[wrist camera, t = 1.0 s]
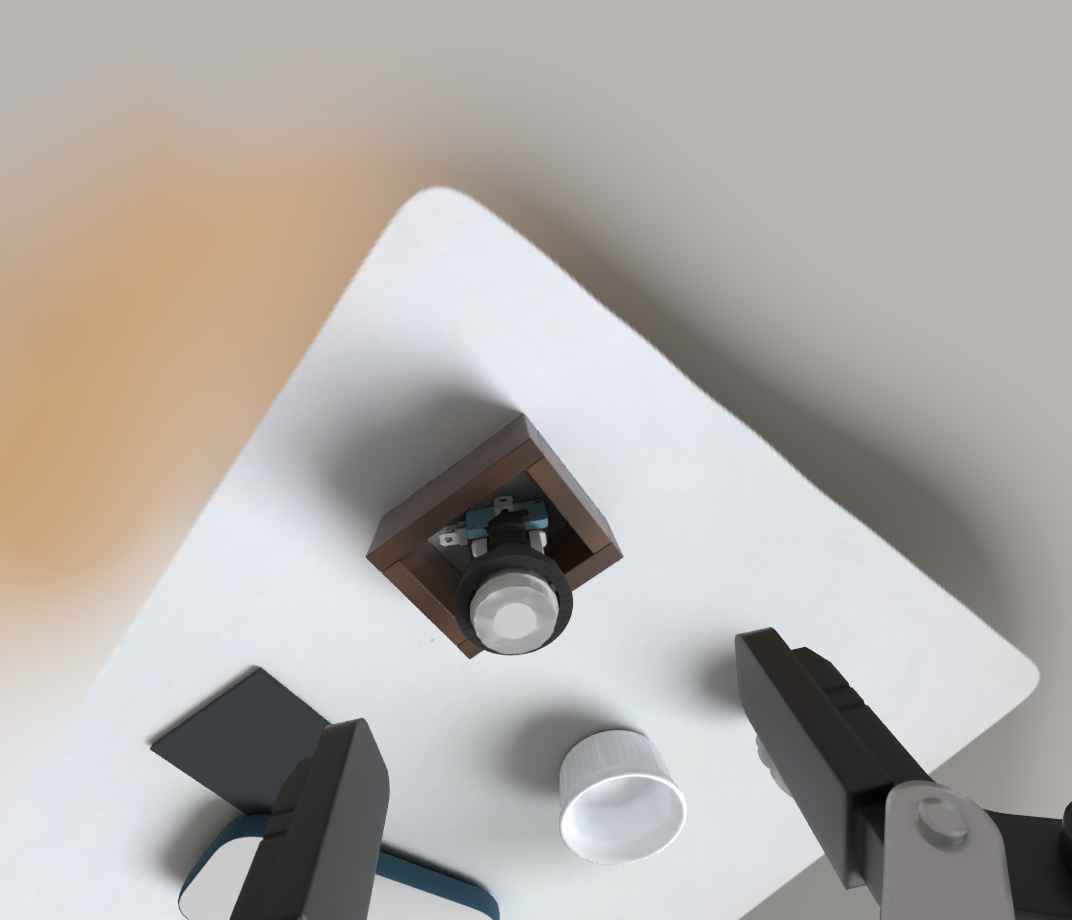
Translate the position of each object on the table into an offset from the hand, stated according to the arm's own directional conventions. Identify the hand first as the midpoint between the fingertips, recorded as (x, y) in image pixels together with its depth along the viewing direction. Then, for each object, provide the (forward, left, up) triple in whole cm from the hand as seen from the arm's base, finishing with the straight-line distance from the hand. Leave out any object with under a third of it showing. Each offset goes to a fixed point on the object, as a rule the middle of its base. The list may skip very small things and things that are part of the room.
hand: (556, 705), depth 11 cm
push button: (+4, -4, -20) cm, 21 cm away
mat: (+8, -28, -20) cm, 35 cm away
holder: (+4, -4, -20) cm, 21 cm away
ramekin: (+26, -10, -20) cm, 35 cm away
